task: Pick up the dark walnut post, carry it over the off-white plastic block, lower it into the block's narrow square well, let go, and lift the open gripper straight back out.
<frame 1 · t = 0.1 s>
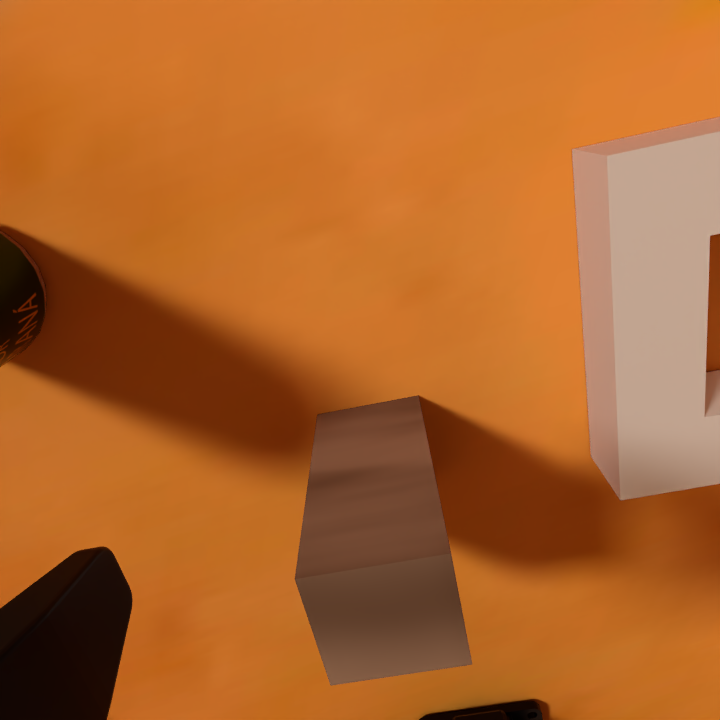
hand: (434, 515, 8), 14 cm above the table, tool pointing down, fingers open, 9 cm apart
walnut post: (377, 448, 24), on the table
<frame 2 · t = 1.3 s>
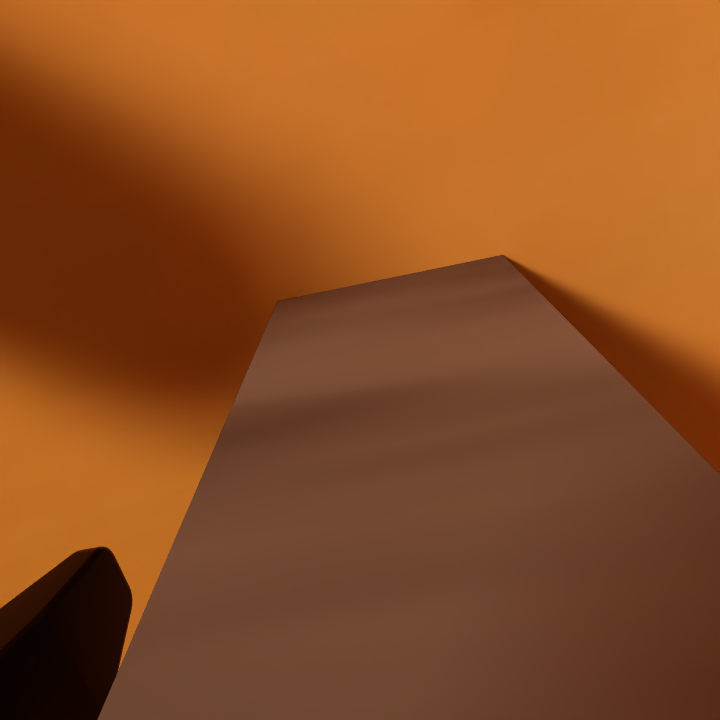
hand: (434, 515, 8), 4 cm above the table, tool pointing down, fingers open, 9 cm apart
walnut post: (408, 379, 11), on the table
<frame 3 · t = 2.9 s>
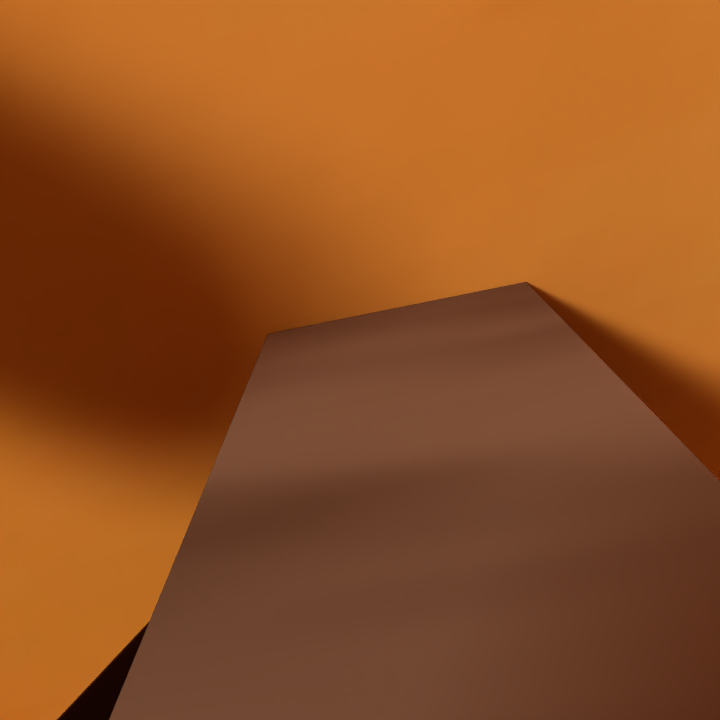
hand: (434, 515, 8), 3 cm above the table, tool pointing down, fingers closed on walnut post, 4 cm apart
walnut post: (416, 420, 10), on the table, touching gripper
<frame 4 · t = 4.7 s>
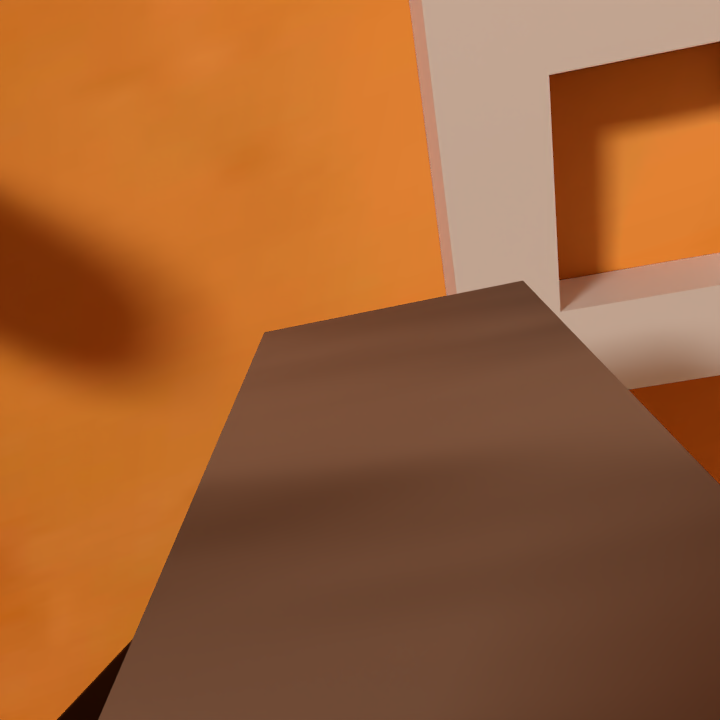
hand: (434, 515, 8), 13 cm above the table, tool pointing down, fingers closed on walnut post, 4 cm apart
walnut post: (413, 419, 10), point 11 cm above the table, touching gripper
well block: (627, 171, 19), on the table
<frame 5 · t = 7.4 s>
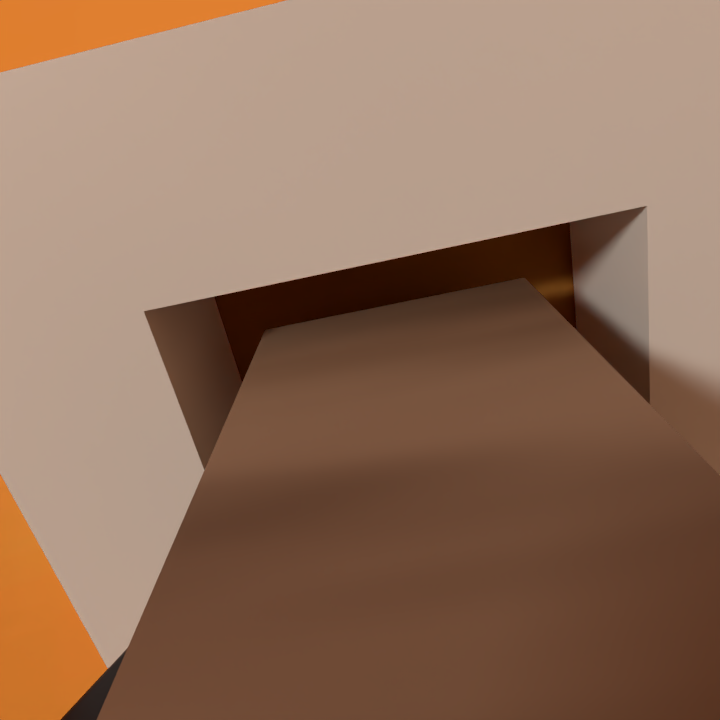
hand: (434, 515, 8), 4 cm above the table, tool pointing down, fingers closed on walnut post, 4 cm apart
walnut post: (414, 417, 10), point 1 cm above the table, touching gripper
well block: (411, 383, 11), on the table
when the fingers open (4 cm above the table, at t = 7.6 s): walnut post drops 1 cm, resting in well block.
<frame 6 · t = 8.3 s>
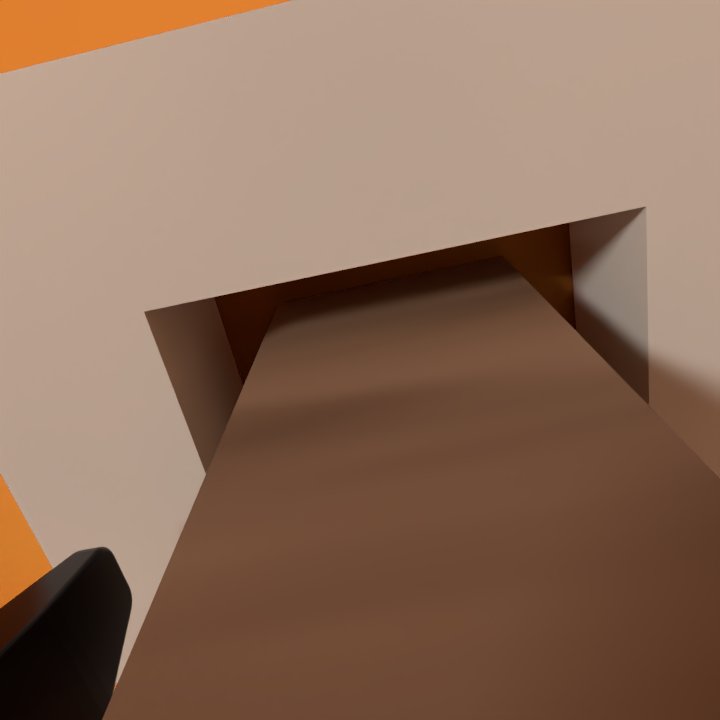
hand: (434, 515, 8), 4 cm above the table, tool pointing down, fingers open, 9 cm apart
walnut post: (409, 381, 11), resting in well block
well block: (411, 383, 11), on the table
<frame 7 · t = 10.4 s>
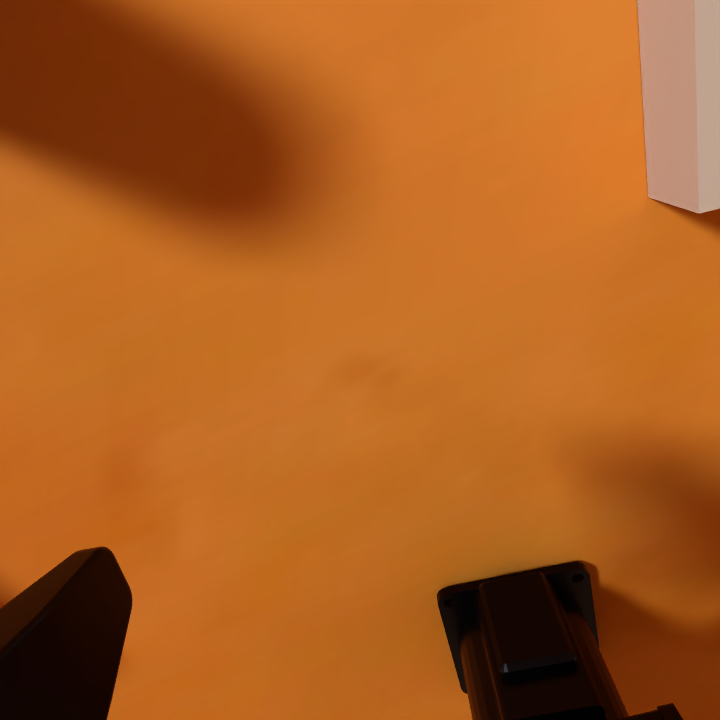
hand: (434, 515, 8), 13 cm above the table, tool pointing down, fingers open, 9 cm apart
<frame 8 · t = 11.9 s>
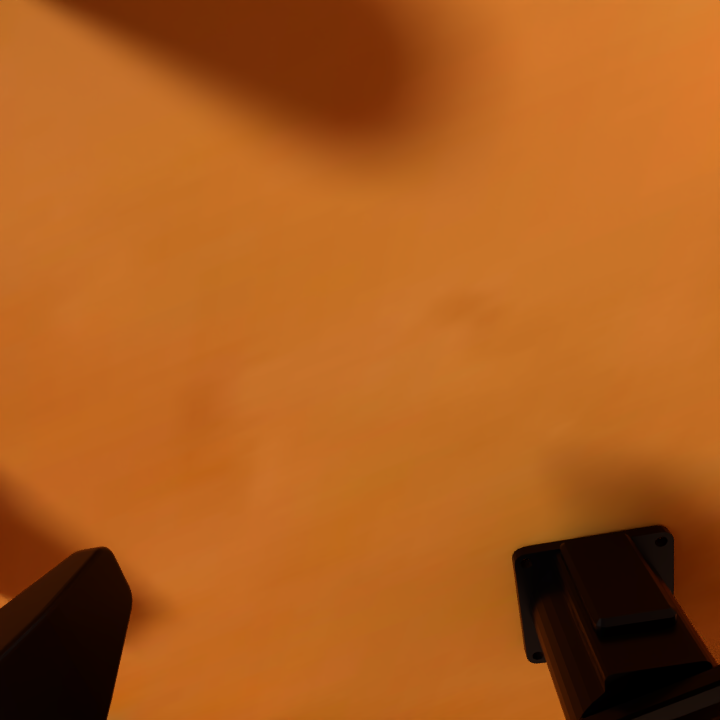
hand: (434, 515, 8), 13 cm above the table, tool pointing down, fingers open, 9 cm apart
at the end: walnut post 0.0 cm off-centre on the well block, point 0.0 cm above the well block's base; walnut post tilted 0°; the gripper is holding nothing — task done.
